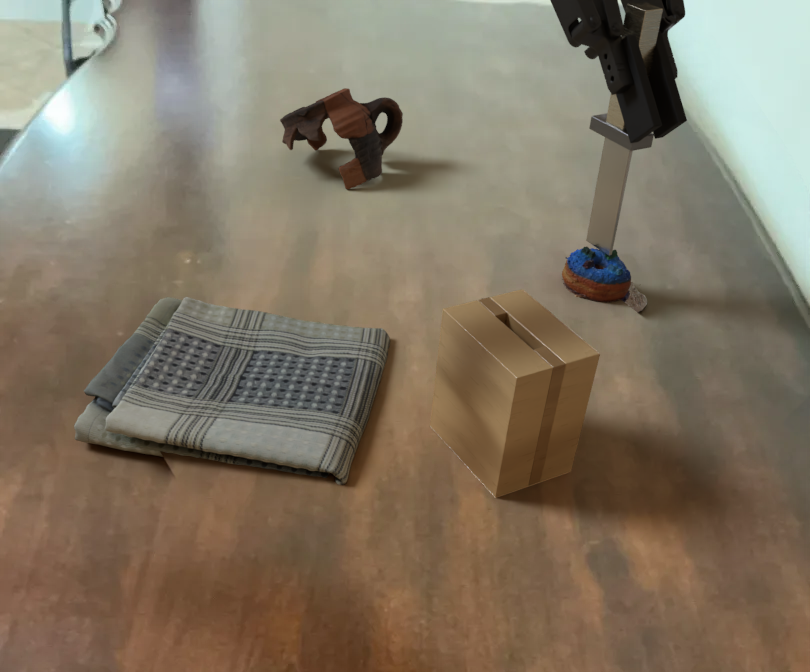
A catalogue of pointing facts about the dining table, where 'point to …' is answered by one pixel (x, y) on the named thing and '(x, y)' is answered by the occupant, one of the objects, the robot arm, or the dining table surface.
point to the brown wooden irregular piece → (347, 131)
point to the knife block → (511, 390)
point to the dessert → (601, 278)
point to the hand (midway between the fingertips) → (658, 131)
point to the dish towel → (238, 389)
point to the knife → (620, 135)
